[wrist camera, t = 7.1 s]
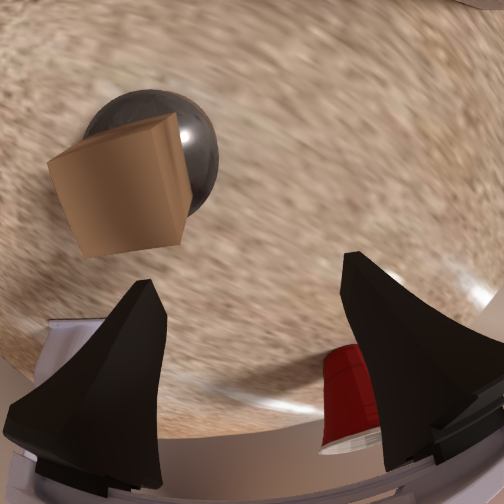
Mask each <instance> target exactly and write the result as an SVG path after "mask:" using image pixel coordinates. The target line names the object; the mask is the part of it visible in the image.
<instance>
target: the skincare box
mask: <svg viewBox="0 0 504 504" xmlns="http://www.w3.org/2000/svg"><path fill="white" fill-rule="evenodd" d="M456 1H458V2H461V3H464V4H467V5H470V6H473V7H476V8H479V9H482V10H504V0H456Z"/></svg>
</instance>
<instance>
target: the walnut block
mask: <svg viewBox="0 0 504 504" xmlns="http://www.w3.org/2000/svg"><path fill="white" fill-rule="evenodd" d="M47 165H48V168H49V171H50V175H51V178H52V180H53V183H54V186H55V189H56V192H57V195H58V197H59V200H60V203H61V205H62V208H63V210H64V213H65V215H66V218H67V220H68V223H69V225H70V227H71V230H72V232H73V234H74V236H75V239H76V241H77V243H78V245H79V248H80V250H81V252H82V254H83V256H84V258H91V257H98V256H104V255H111V254H118V253H124V252H131V251H138V250H145V249H152V248H159V247H166V246H173V245H180V242H181V238H182V234H183V231H184V227H185V223H186V219H187V216H188V212H189V208H190V205H191V201H192V197H193V195H192V191H191V186H190V181H189V177H188V172H187V167H186V162H185V157H184V152H183V147H182V142H181V137H180V132H179V126H178V121H177V115H176V112H174V113H170V114H165V115H161V116H156V117H152V118H148V119H144V120H140V121H137V122H133V123H129V124H126V125H122V126H119V127H115V128H112V129H109V130H106V131H103V132H100V133H97V134H94V135H92V136H90V137H88V138H86V139H84V140H83V141H81V142H79V143H77V144H76V145H74V146H72V147H71V148H69V149H67V150H66V151H64V152H62V153H61V154H59V155H58V156H56V157H55V158H53V159H51V160H50V161H48V162H47Z"/></svg>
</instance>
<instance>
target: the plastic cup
mask: <svg viewBox="0 0 504 504" xmlns="http://www.w3.org/2000/svg"><path fill="white" fill-rule="evenodd" d="M323 376H324V436H323V443H322V446H321V447H320V449H319V453H318V454H322V455H331V454H340V453H347V452H352V451H356V450H361V449H365V448H368V447H371V446H374V445H378V444H381V443H382V436H381V429H380V423H379V416H378V411H377V406H376V401H375V396H374V392H373V388H372V384H371V380H370V376H369V372H368V369H367V366H366V363H365V361H364V358H363V356H362V353H361V351H360V348H359V346H358V345H357V344H352V345H348V346H343V347H341V348H339V349H337V350H335V351H333V352H332V353H330V354H329V355H328V356H327V357H326V358H325V360H324V366H323Z"/></svg>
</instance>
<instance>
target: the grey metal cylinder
mask: <svg viewBox="0 0 504 504" xmlns="http://www.w3.org/2000/svg"><path fill="white" fill-rule="evenodd" d="M174 112H176V115H177V121H178V126H179V132H180V137H181V142H182V147H183V152H184V157H185V162H186V167H187V172H188V177H189V181H190V186H191V191H192V195H193V197H192V201H191V205H190V208H189V212H188V216H187V217H189V216H190V215H192V214H193V213H194V212H195V211H196V210H198V209H199V208H200V207H201V205H202V204H203V203H204V202H205V201H206V199H207V198H208V196H209V195H210V193H211V191H212V189H213V186H214V183H215V180H216V177H217V172H218V165H219V153H218V145H217V139H216V134H215V131H214V128H213V125H212V123H211V121H210V120H209V118H208V116H207V115H206V114H205V112H204V111H203V110H202V109H201V108H200V107H199V106H198V105H197V104H196V103H194V102H193V101H192V100H190V99H188V98H187V97H185V96H183V95H180V94H177V93H174V92H169V91H162V90H152V89H149V90H139V91H134V92H129V93H127V94H124V95H121V96H119V97H117V98H115V99H114V100H112V101H110V102H109V103H108V104H106V105H105V106H104V107H103V108H102V109H101V110H100V111H99V112H98V113H97V114H96V115H95V117H94V118H93V119H92V121H91V122H90V124H89V126H88V128H87V130H86V132H85V135H84V138H83V140H84V139H86V138H88V137H90V136H92V135H94V134H97V133H100V132H103V131H106V130H109V129H112V128H115V127H119V126H122V125H126V124H129V123H133V122H137V121H140V120H144V119H148V118H152V117H156V116H161V115H165V114H170V113H174Z"/></svg>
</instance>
